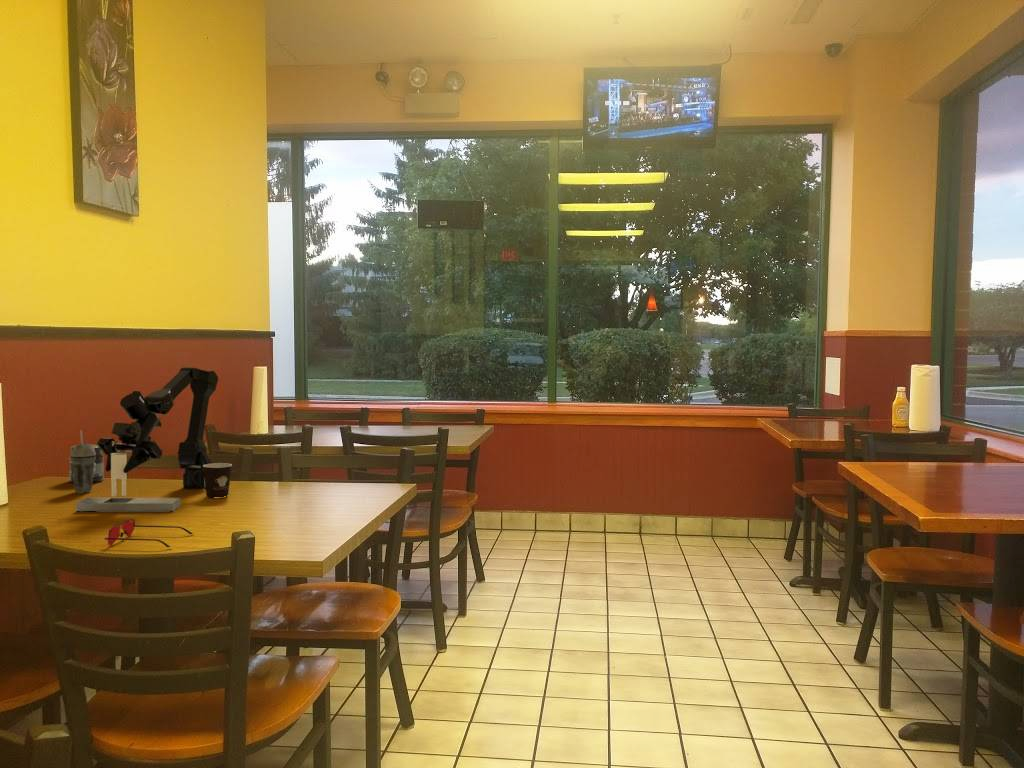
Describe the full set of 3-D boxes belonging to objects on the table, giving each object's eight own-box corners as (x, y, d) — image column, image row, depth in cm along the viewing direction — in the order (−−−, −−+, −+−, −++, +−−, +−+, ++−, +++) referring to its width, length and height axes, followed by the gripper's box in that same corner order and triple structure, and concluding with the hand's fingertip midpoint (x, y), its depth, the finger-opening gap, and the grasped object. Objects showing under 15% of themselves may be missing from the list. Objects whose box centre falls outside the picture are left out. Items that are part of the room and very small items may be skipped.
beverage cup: (101, 490, 256) (101, 428, 255) (86, 494, 249) (86, 431, 248) (79, 489, 257) (79, 427, 256) (65, 493, 250) (64, 430, 249)
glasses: (130, 535, 204) (130, 515, 204) (195, 536, 204) (195, 517, 204) (103, 549, 190) (103, 528, 190) (172, 551, 190) (172, 530, 190)
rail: (180, 506, 237) (180, 497, 237) (172, 512, 229) (172, 503, 229) (87, 506, 234) (87, 497, 233) (76, 512, 226) (76, 503, 226)
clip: (126, 493, 234) (126, 452, 233) (126, 495, 230) (126, 454, 229) (111, 494, 232) (111, 453, 231) (111, 496, 228) (111, 455, 227)
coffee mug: (232, 493, 258) (232, 462, 257) (231, 498, 250) (231, 467, 249) (193, 494, 254) (193, 463, 253) (191, 500, 246) (191, 468, 245)
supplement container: (84, 477, 277) (84, 443, 277) (111, 479, 275) (111, 445, 275) (61, 482, 267) (61, 447, 266) (89, 484, 265) (89, 449, 264)
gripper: (101, 410, 235) (72, 452, 225) (156, 413, 231) (129, 456, 221) (120, 433, 244) (93, 475, 233) (173, 437, 239) (148, 480, 229)
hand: (115, 471), depth 229 cm, fingers closed on clip, 6 cm apart
